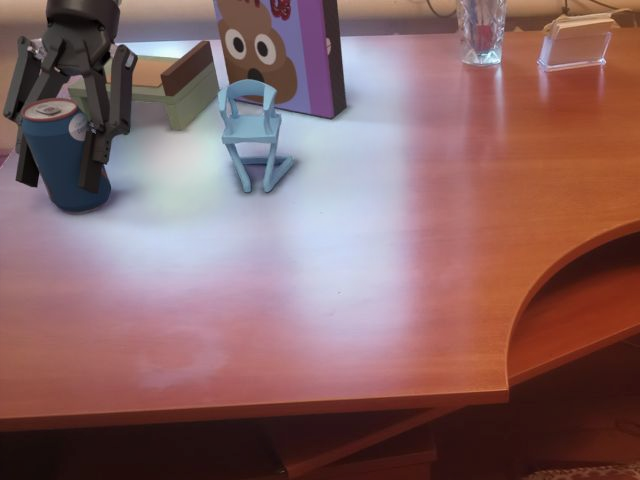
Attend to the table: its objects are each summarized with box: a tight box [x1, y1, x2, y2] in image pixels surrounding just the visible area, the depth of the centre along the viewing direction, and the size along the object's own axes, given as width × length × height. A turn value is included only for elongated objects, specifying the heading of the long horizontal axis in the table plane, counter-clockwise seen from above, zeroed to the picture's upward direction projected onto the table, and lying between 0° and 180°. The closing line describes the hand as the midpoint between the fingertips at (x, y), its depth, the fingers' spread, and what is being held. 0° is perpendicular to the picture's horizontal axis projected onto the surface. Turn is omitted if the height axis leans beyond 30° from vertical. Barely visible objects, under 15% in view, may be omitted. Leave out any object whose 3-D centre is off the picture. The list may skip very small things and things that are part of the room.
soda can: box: [22, 97, 112, 215], centre depth 85 cm, size 7×7×12 cm
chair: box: [217, 79, 294, 193], centre depth 91 cm, size 8×8×12 cm
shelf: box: [66, 39, 221, 131], centre depth 108 cm, size 16×14×8 cm
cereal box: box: [212, 0, 347, 120], centre depth 104 cm, size 17×5×24 cm, turn 69°
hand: (57, 186), depth 84 cm, fingers closed on soda can, 7 cm apart
